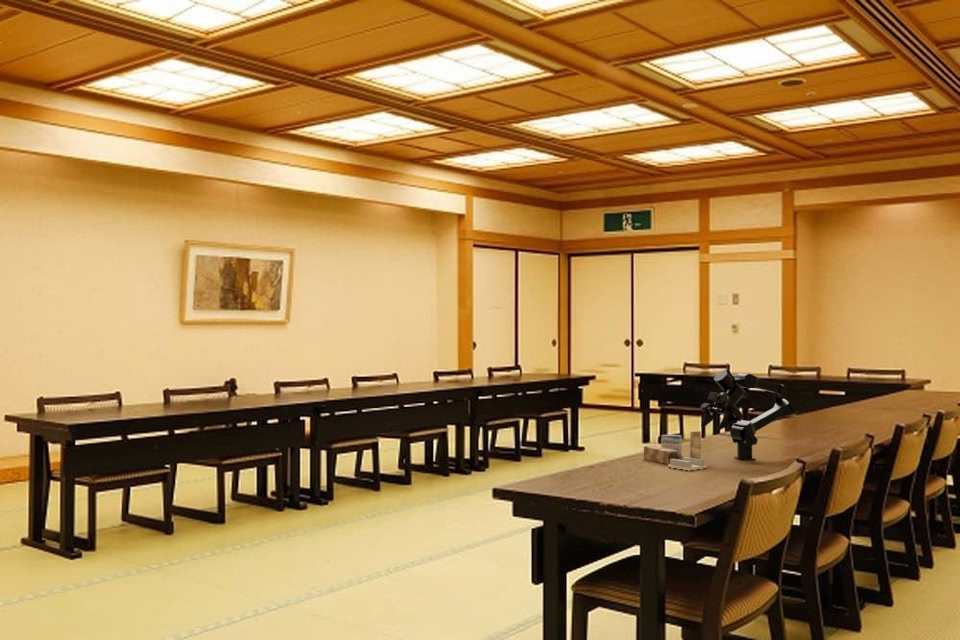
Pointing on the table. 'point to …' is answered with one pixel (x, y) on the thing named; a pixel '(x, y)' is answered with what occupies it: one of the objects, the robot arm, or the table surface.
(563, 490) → the table surface
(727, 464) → the table surface
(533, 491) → the table surface
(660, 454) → the beam
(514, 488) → the table surface
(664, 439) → the medicine box
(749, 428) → the robot arm
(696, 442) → the dowel
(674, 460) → the cradle
